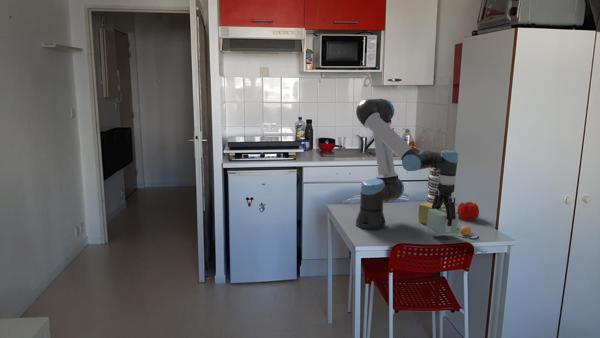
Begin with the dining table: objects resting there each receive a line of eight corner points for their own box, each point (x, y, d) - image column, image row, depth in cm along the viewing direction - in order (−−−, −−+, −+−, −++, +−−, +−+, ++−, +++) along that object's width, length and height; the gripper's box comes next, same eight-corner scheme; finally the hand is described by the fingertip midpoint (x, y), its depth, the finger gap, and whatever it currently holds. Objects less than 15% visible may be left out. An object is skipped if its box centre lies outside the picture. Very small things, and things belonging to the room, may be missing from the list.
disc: (464, 239, 215) (464, 239, 215) (453, 232, 224) (453, 232, 224) (483, 238, 217) (483, 237, 217) (471, 231, 226) (471, 231, 226)
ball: (475, 232, 218) (467, 239, 218) (469, 229, 223) (461, 236, 222) (469, 225, 217) (461, 231, 216) (464, 222, 221) (456, 228, 221)
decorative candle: (428, 211, 259) (432, 168, 254) (423, 207, 268) (426, 165, 263) (444, 211, 260) (448, 169, 255) (438, 207, 269) (442, 166, 264)
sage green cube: (437, 233, 211) (439, 215, 209) (426, 226, 221) (428, 209, 219) (456, 232, 214) (458, 215, 212) (445, 225, 223) (447, 208, 221)
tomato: (465, 215, 254) (467, 199, 253) (482, 221, 244) (484, 204, 242) (451, 217, 250) (453, 201, 248) (468, 223, 239) (470, 207, 237)
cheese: (427, 218, 246) (429, 200, 244) (445, 223, 239) (447, 205, 237) (417, 222, 239) (418, 204, 237) (435, 227, 232) (437, 208, 230)
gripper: (467, 189, 202) (461, 236, 207) (441, 177, 224) (436, 220, 229) (452, 189, 201) (446, 236, 205) (427, 177, 222) (423, 220, 227)
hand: (441, 228), depth 217 cm, fingers closed on sage green cube, 10 cm apart
